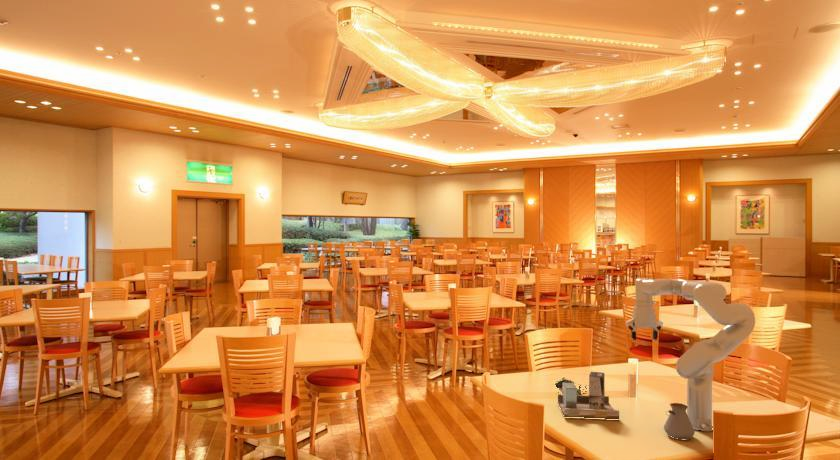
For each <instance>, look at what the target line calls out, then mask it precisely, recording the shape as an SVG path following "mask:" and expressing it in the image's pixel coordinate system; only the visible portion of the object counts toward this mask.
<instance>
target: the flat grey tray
mask: <svg viewBox="0 0 840 460" xmlns="http://www.w3.org/2000/svg"><path fill="white" fill-rule="evenodd" d="M558 404H559V406H560V408H561V410H562V412H561V414H562V413H563V414H562V416H563V415H564V416H563V418H564V417H584V418H605V419H619V420H620V410H619V409H615V408H614V407H613V406H612V405H611V404H610V396H609V395H605V407H604V409H589V395H585V394H584V395H582V394H581V395H577V409H574V408H564V406H563V395H560V394H557V405H558ZM559 406H558V407H559ZM560 408H559V409H560ZM561 410H560V411H561Z"/></svg>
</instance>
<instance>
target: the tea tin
mask: <svg viewBox="0 0 840 460" xmlns="http://www.w3.org/2000/svg"><path fill="white" fill-rule="evenodd" d="M574 383H575V382H574ZM574 383H562V384H563V406H564V408H574V409H577V388H576V386H575V385H574Z"/></svg>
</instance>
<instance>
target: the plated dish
mask: <svg viewBox="0 0 840 460" xmlns="http://www.w3.org/2000/svg"><path fill="white" fill-rule="evenodd" d="M561 380H562V381H561ZM561 380H559V381H558V380H556V383H555V385H556V387H557V388H559V390H560V391H561V392H562V394H563V384H562V383H575V381H573V380H571V379H567V378H566V377H562V378H561ZM557 382H558V383H557ZM579 385H580V386H581V385H582V384H579ZM580 386H579V389H577V395H582V394H581V390H580V388H581V387H580ZM586 386H587V385H586ZM586 386H585V388H586ZM586 389H587V388H586Z"/></svg>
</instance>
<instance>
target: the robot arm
mask: <svg viewBox="0 0 840 460" xmlns="http://www.w3.org/2000/svg"><path fill="white" fill-rule="evenodd" d="M634 289H635V291H634V292H635V295H634V297H635V305H634V306H633V308H632V315H631V316H632V318H630V319H628V320H627V321H625V325H626V326H627V328H628V329H629V330H630V331H631V339H633V340H634V341H636V340H637V331H636V330H637V329H652V339H653V340H654V341H657V340H658V337H659V336H658V335H659V334H658V333H659V332H660V330H661V328H662V327H663V325H664V322H663V321H661V320H659V319H657V316H656V310H655V309H656V308H655V307H654V305H656V301H653V299H654V297H653V296H655V297H656V296H664V295H665V296H666V295H672V296H673V295H674V296H680V297H681V296H682V297H683V298H684V299H685V300H689V301H696V302H697V303H698V305H700V307H701V308H702V309H703V310H704V311H705V312H706V313H707V314H708V315H709V316H710V318H712V319H713V320H714V321H715V322H716V323H718V324H719V325H721V326H724V327H723V328H722V329H720V330H719V331H717V333H716V334H715V335H714V336H712V337H710V338H709V339H703V340H700V341H698V342H695V343H694V344H693V345H691V346H690V347H689V348H688V349H687V350H686V351H685V352H684V353H683V354H681V355H680V357H679V358H678V359H677V360H676V362H675V370H676V372H677V374H678V375H679V376H680V377H681V378H684V379H685V380H687V382H686V406H687V407H688V408H687V409H686V413H687V415H688V418H689V420H690V422H691V424H692V427H693V429H694V431H698V430H701V431H700V432H713V431H712V428H713V426H712V423H713V378H714V373H715V364H714V363H718V362H721V361H723V360H725V359H726V358H727V357H728V356H729V355H731V353H733V351H735V349H737V348H738V347H739V346H740V345H741V344H742V343H744V342H745V340H747V339H748V338H749V336H750V335H752V333H753V331H754V329H755V326H756V316H755V313H754V311H753V309H752V308H751V307H750V306H749V305H747V304H746V303H743V302H732V303H726V302H725V301H724V299H726V296H727V289H726V287H725V286H724V285H723V284H721V283H718V282H714V281H713V282H712V281H700V280H699V281H698V280H688V279H687V280H686V279H677V278H656V279H650V278H646V277H645V278H644V277H643V278H641V277H640V278H637V279H635V286H634ZM657 324H658V325H657ZM631 325H632V326H631Z"/></svg>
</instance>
